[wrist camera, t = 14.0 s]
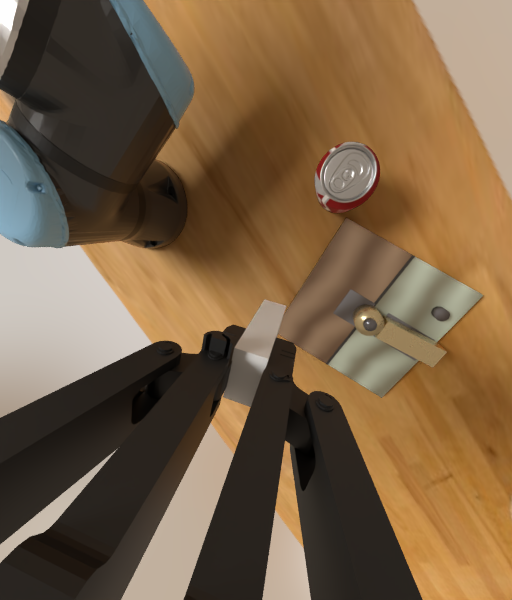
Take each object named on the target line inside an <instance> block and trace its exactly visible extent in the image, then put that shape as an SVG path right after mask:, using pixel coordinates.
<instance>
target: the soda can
mask: <svg viewBox="0 0 512 600" xmlns="http://www.w3.org/2000/svg"><path fill="white" fill-rule="evenodd" d="M379 177H380V165H379V161H378V158H377V156H376V154H375V153H374V152H373V151H372V150H371V149H370V148H369V147H368V146H366V145H364V144H362V143H358V142H346V143H342V144H339V145H337V146H335V147H333V148H332V149H331V150H329V151H328V152H327V153H326V154H325V155H324V156H323V158H322V159H321V161H320V163H319V164H318V167H317V170H316V173H315V188H316V194H317V198H318V201H319V203H320V204H321V206H322V207H323V208H325V209H326V210H328V211H330V212H333V213H343V212H347V211H349V210H351V209H353V208H355V207H357V206H359V205H361V204H362V203H364V202H365V201H366V200H367V199H368V198H369V197H370V196H371V195H372V194H373V192H374V190H375V189H376V187H377V184H378V181H379Z"/></svg>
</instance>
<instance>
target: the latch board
mask: <svg viewBox="0 0 512 600" xmlns="http://www.w3.org/2000/svg"><path fill="white" fill-rule="evenodd" d="M482 296H483V295H482V294H480V293H479V292H477V291H475V290H473V289H471V288H470V287H468V286H466V285H464V284H463V283H461V282H459V281H457V280H456V279H454V278H452V277H450V276H448V275H447V274H445V273H443V272H441V271H440V270H438V269H436V268H434V267H433V266H431V265H429V264H427V263H425V262H424V261H422V260H420V259H418V258H417V257H415V256H413V255H411V254H410V253H408V252H406V251H404V250H402V249H401V248H399V247H397V246H395V245H394V244H392V243H390V242H388V241H387V240H385V239H383V238H381V237H379V236H378V235H376V234H374V233H372V232H371V231H369V230H367V229H365V228H364V227H362V226H360V225H358V224H356V223H355V222H353V221H351V220H349V219H348V218H346V219H345V220H344V222H343V223H342V225H341V226H340V228H339V229H338V231H337V233H336V234H335V236H334V237H333V239H332V240H331V242H330V243H329V245H328V247H327V248H326V250H325V251H324V253H323V254H322V256H321V257H320V259H319V261H318V262H317V264H316V265H315V267H314V268H313V270H312V271H311V273H310V275H309V276H308V278H307V279H306V281H305V282H304V284H303V285H302V287H301V289H300V290H299V292H298V293H297V295H296V296H295V298H294V300H293V301H292V303H291V304H290V306H289V307H288V309H287V310H286V312H285V314H284V315H283V318H282V322H281V325H280V328H279V332H278V334H279V335H281V336H282V337H284V338H285V339H287V340H289V341H290V342H292V343H294V344H295V345H297V346H298V347H300V348H302V349H303V350H305V351H307V352H308V353H310V354H311V355H313V356H315V357H316V358H318V359H320V360H321V361H323V362H324V363H326V364H327V365H329V366H331V367H333V368H334V369H336V370H337V371H339V372H341V373H342V374H344V375H346V376H347V377H349V378H350V379H352V380H354V381H355V382H357V383H359V384H360V385H362V386H363V387H365V388H367V389H368V390H370V391H372V392H373V393H375V394H376V395H378V396H380V397H381V398H382V397H383V396H384V395H385V394H386V393H387V392H388V391H389V390H390V389H391V388H392V387H393V386H394V385H395V384H396V383H397V382H398V381H399V380H400V379H401V378H402V377H403V376H404V375H405V374H406V373H407V372H408V371H409V370H410V369H411V368H412V367H413V366H414V365H415V364H416V363H417V362H418V361H419V360H417V359H415V358H413V357H412V356H410V355H408V354H406V353H404V352H402V351H400V350H398V349H396V348H394V347H392V346H391V345H389V344H387V343H385V342H383V341H381V340H379V339H377V338H376V337H375V335H373V336H366V335H363V334H361V333H359V332H358V331H357V329H356V327H355V324H354V321H353V312H354V311H355V309H356V308H357V307H359V306H361V305H365V304H368V305H372V306H374V307H376V308H377V309H378V311H379V312H380V314H381V315H382V316H383V315H385V316H387V317H389V318H391V319H393V320H395V321H397V322H399V323H401V324H403V325H405V326H406V327H408V328H410V329H412V330H414V331H416V332H418V333H420V334H422V335H424V336H426V337H428V338H430V339H432V340H434V341H436V342H438V341H439V340H440V339H441V338H442V337H443V336H444V335H445V334H446V333H447V332H448V331H449V330H450V329H451V328H452V327H453V326H454V325H455V324H456V323H457V322H458V321H459V320H460V319H461V318H462V317H463V316H464V315H465V314H466V312H467V311H468V310H469V309H470V308H471V307H472V306H473V305H474V304H475V303H476V302H477V301H478V300H479V299H480V298H481V297H482Z"/></svg>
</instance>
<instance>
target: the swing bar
mask: <svg viewBox="0 0 512 600" xmlns="http://www.w3.org/2000/svg"><path fill="white" fill-rule="evenodd" d="M353 321H354V324H355V327H356V329H357V331H358V332H359V333H361V334H363V335H366V336H373V335H375V337H376V338H377V339H379V340H381V341H383V342H385V343H387V344H389V345H391V346H392V347H394V348H396V349H398V350H400V351H402V352H404V353H406V354H408V355H410V356H412V357H413V358H415V359H417V360H419V361H421V362H423V363H425V364H427V365H429V366H431V367H434V366H435V365H436V364H437V362H438V361H439V360H440V359H441V358H442V357H443V356H444V355H445V354H446V353H447V351H446V350H445V349H444V348H443V347H442V346H441V345H440V344H439V343H438V342H436V341H434V340H432V339H430V338H428V337H426V336H424V335H422V334H420V333H418V332H416V331H414V330H412V329H410V328H408V327H406V326H405V325H403V324H401V323H399V322H397V321H395V320H393V319H391V318H389V317H387V316H385V315H383V316H382V315H381V314H380V312H379V311H378V309H377V308H376V307H374V306H372V305H368V304H365V305H361V306H359V307H357V308H356V309H355V311H354V312H353Z"/></svg>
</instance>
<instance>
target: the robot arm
mask: <svg viewBox="0 0 512 600" xmlns="http://www.w3.org/2000/svg"><path fill="white" fill-rule="evenodd" d="M0 89H1V90H3V91H5V92H6V93H8V94H10V95H11V96H13V97H15V98H16V100H15V103H14V106H13V108H12V111H11V114H10V116H9V119H8V121H7V122H4V121H1V120H0V234H1V235H3V236H4V237H5V238H7V239H9V240H10V241H12V242H14V243H17V244H19V245H23V246H27V247H54V248H62V247H65V246H74V245H84V244H94V243H104V242H113V241H122V242H125V243H128V244H131V245H134V246H137V247H141V248H157V247H163V246H166V245H168V244H170V243H171V242H173V241H174V240H175V239H176V238H177V237H178V236H179V234H180V233H181V231H182V229H183V227H184V224H185V221H186V216H187V201H186V195H185V192H184V189H183V186H182V184H181V182H180V180H179V179H178V177H177V176H176V174H175V173H174V172H173V171H172V170H171V169H170V168H169V167H168V166H167V165H165V164H164V163H162V162H160V161H158V160H156V159H155V158H156V157H157V155H158V154H159V152H160V151H161V149H162V148H163V146H164V145H165V143H166V142H167V140H168V139H169V137H170V136H171V134H172V133H173V131H174V130H175V128H176V129H177V128H178V127H179V121H180V119H181V117H182V116H183V114H184V112H185V111H186V109H187V107H188V106H189V104H190V102H191V100H192V98H193V95H194V82H193V78H192V75H191V73H190V71H189V69H188V67H187V65H186V64H185V62H184V60H183V59H182V57H181V56H180V54H179V52H178V51H177V49H176V48H175V46H174V45H173V43H172V42H171V40H170V39H169V37H168V36H167V34H166V33H165V31H164V30H163V28H162V27H161V25H160V24H159V22H158V21H157V19H156V18H155V17H154V15H153V14H152V12H151V11H150V9H149V8H148V7H147V5H146V4H145V2H144V1H143V0H0ZM285 308H286V306H285V305H282V304H279V303H275V302H272V301H268V300H265V299H264V301H263V303H262V304H261V306H260V307H259V309H258V311H257V312H256V314H255V315H254V317H253V319H252V320H251V322H250V324H249V325H248V327H247V328H243V327H239V326H236V325H231V326H229V327H227V328H226V329H225V330H224V331H223V332H220V331H210V332H207V333H205V334H204V338H203V344H202V350H201V351H200V353H199V354H188V353H181V352H182V349H181V346H180V345H178V344H177V343H175V342H172V341H159V342H156V343H153V344H151V345H149V346H147V347H145V348H143V349H141V350H139V351H137V352H135V353H133V354H131V355H129V356H127V357H125V358H123V359H120V360H118V361H116V362H114V363H112V364H110V365H108V366H106V367H104V368H102V369H100V370H98V371H96V372H94V373H92V374H90V375H88V376H85V377H83V378H82V379H79V380H77V381H75V382H73V383H71V384H69V385H67V386H65V387H63V388H61V389H59V390H57V391H55V392H53V393H51V394H48V395H46V396H44V397H42V398H40V399H38V400H36V401H34V402H32V403H30V404H28V405H26V406H24V407H22V408H20V409H18V410H16V411H14V412H11V413H10V414H7V415H5V416H3V417H1V418H0V544H1V543H2V542H4V541H5V540H6V539H7V538H8V537H10V536H11V535H12V534H13V533H15V532H16V531H17V530H18V529H20V528H21V527H22V526H23V525H24V524H26V523H27V522H28V521H29V520H30V519H32V518H33V517H34V516H35V515H36V514H38V513H39V512H40V511H42V510H43V509H44V508H45V507H46V506H48V505H49V504H50V503H51V502H53V501H54V500H55V499H56V498H57V497H59V496H60V495H61V494H62V493H63V492H65V491H66V490H67V489H68V488H70V487H71V486H72V485H73V484H75V483H76V482H77V481H78V480H79V479H81V478H82V477H83V476H84V475H86V474H87V473H88V472H89V471H90V470H92V469H93V468H94V467H95V466H96V465H98V464H99V463H100V462H101V461H103V460H104V459H105V458H106V457H107V456H109V455H110V454H111V453H112V452H114V451H115V450H116V449H117V448H118V449H117V450H116V452H115V453H114V454H113V455H112V456H111V457H110V459H109V460H108V461H107V462H106V463H105V464H104V466H103V467H102V468H101V469H100V470H99V472H98V473H97V474H96V475H95V476H94V478H93V479H92V480H91V481H90V482H89V483H88V485H87V486H86V487H85V488H84V489H83V490H82V492H81V493H80V494H79V495H78V496H77V498H76V499H75V500H74V501H73V502H72V503H71V505H70V506H69V507H68V508H67V509H66V510H65V512H64V513H63V514H62V515H61V516H60V517H59V519H58V520H57V521H56V522H55V523H54V524H53V525H52V526H51V527H50V528H49V529H48V530H46V531H45V532H44V533H41V534H38V535H35V536H31V537H29V538H28V539H27V540H25V541H24V542H22V543H21V544H20V545H18V546H17V547H16V548H15V549H14V550H13V551H12V552H11V553H10V554H9V555H8V556H7V557H6V558H5V559H4V560H3V561H2V562H1V563H0V600H121V598H122V596H123V594H124V592H125V590H126V588H127V586H128V584H129V582H130V580H131V579H132V577H133V575H134V573H135V571H136V569H137V567H138V565H139V563H140V561H141V559H142V557H143V555H144V553H145V551H146V549H147V547H148V545H149V543H150V541H151V539H152V537H153V535H154V533H155V531H156V529H157V527H158V525H159V523H160V521H161V519H162V518H163V516H164V514H165V512H166V510H167V508H168V506H169V504H170V502H171V500H172V498H173V496H174V494H175V491H176V490H177V488H178V486H179V484H180V482H181V480H182V478H183V476H184V474H185V472H186V470H187V468H188V466H189V464H190V462H191V460H192V458H193V456H194V454H195V452H196V451H197V448H198V447H199V445H200V443H201V441H202V439H203V437H204V435H205V433H206V431H207V429H208V427H209V425H210V423H211V421H212V419H213V417H214V415H215V413H216V411H217V409H218V407H219V405H220V401H221V396H222V395H223V393H224V396H223V397H225V398H227V399H230V400H233V401H236V402H238V403H241V404H244V405H247V406H249V407H251V408H250V411H249V414H248V416H247V419H246V422H245V425H244V428H243V431H242V434H241V437H240V439H239V442H238V445H237V448H236V451H235V454H234V457H233V460H232V462H231V465H230V468H229V471H228V474H227V477H226V480H225V483H224V486H223V489H222V491H221V494H220V497H219V500H218V503H217V506H216V509H215V511H214V514H213V517H212V520H211V523H210V526H209V529H208V532H207V534H206V537H205V540H204V543H203V546H202V549H201V552H200V555H199V558H198V560H197V563H196V566H195V569H194V572H193V575H192V578H191V581H190V583H189V586H188V589H187V592H186V595H185V597H184V600H262V597H263V590H264V583H265V576H266V569H267V562H268V555H269V548H270V541H271V533H272V527H273V520H274V513H275V506H276V499H277V492H278V485H279V478H280V471H281V464H282V457H283V450H284V443H285V440H286V441H287V442H288V443H290V453H291V460H292V467H293V474H294V481H295V489H296V496H297V503H298V510H299V517H300V524H301V531H302V538H303V545H304V552H305V559H306V566H307V573H308V581H309V588H310V595H311V600H422V597H421V595H420V593H419V590H418V588H417V585H416V583H415V581H414V578H413V576H412V574H411V571H410V569H409V566H408V564H407V562H406V559H405V557H404V555H403V552H402V550H401V547H400V545H399V543H398V540H397V538H396V536H395V533H394V531H393V528H392V526H391V524H390V521H389V519H388V517H387V514H386V512H385V509H384V507H383V505H382V502H381V500H380V497H379V495H378V493H377V490H376V488H375V486H374V483H373V481H372V478H371V476H370V474H369V471H368V469H367V467H366V464H365V462H364V459H363V457H362V455H361V452H360V450H359V448H358V445H357V443H356V440H355V438H354V436H353V433H352V431H351V429H350V426H349V424H348V421H347V419H346V417H345V414H344V412H343V410H342V407H341V405H340V404H339V402H338V401H337V400H336V399H335V398H334V397H332V396H331V395H329V394H327V393H324V392H321V391H314V392H312V393H310V395H308V394H306V393H305V392H303V391H302V390H300V389H299V388H298V387H297V386H296V385H295V383H294V382H293V377H292V374H293V367H294V361H295V354H296V347H295V345H294V343H292V342H289V341H286V340H283V339H279V338H277V335H278V332H279V328H280V325H281V322H282V318H283V315H284V311H285ZM224 391H225V392H224Z"/></svg>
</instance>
